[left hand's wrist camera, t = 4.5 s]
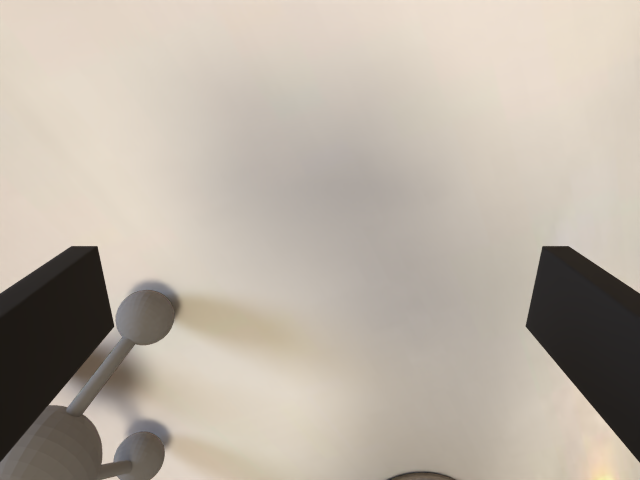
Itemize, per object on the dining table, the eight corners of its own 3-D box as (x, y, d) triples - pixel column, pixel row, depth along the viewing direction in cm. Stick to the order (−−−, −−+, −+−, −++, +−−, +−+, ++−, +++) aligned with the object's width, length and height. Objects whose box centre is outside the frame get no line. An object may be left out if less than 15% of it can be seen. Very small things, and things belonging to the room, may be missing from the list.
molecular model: (261, 348, 46) (173, 754, 18) (157, 458, 52) (-29, 890, 24) (73, 220, 41) (-461, 523, 13) (-19, 360, 47) (-519, 772, 19)
